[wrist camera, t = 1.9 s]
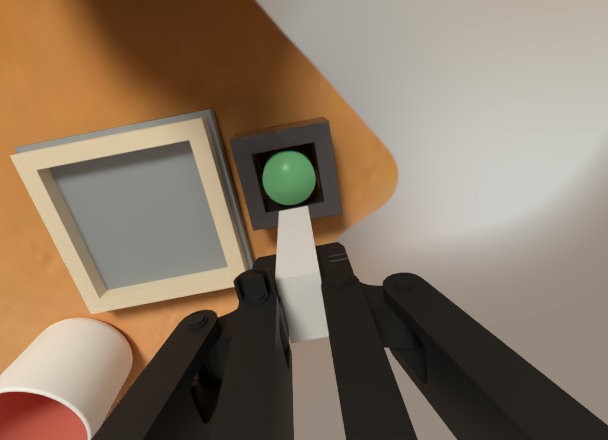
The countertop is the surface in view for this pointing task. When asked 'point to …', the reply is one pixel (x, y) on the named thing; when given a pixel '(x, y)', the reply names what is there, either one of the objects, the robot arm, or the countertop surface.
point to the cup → (64, 382)
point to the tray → (140, 210)
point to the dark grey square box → (278, 137)
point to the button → (288, 176)
